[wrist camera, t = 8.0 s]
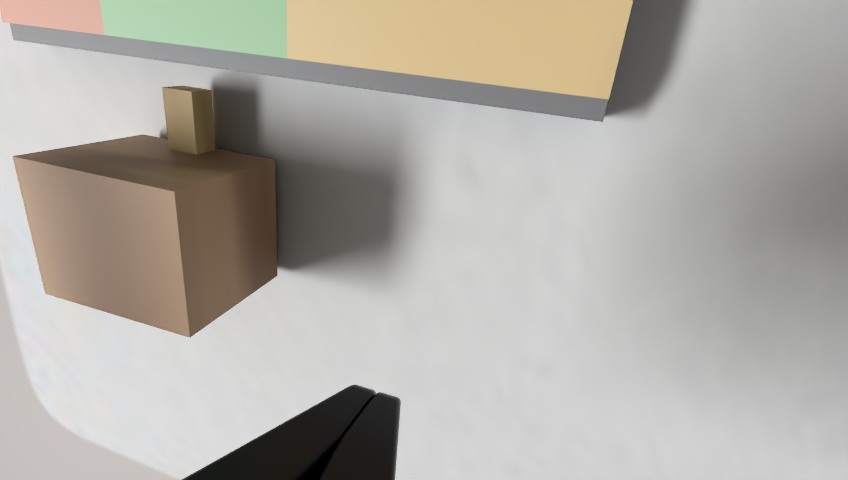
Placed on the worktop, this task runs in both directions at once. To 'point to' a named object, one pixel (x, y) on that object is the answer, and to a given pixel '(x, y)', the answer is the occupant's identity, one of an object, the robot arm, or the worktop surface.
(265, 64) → the tuner gauge
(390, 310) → the worktop surface
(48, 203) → the block
